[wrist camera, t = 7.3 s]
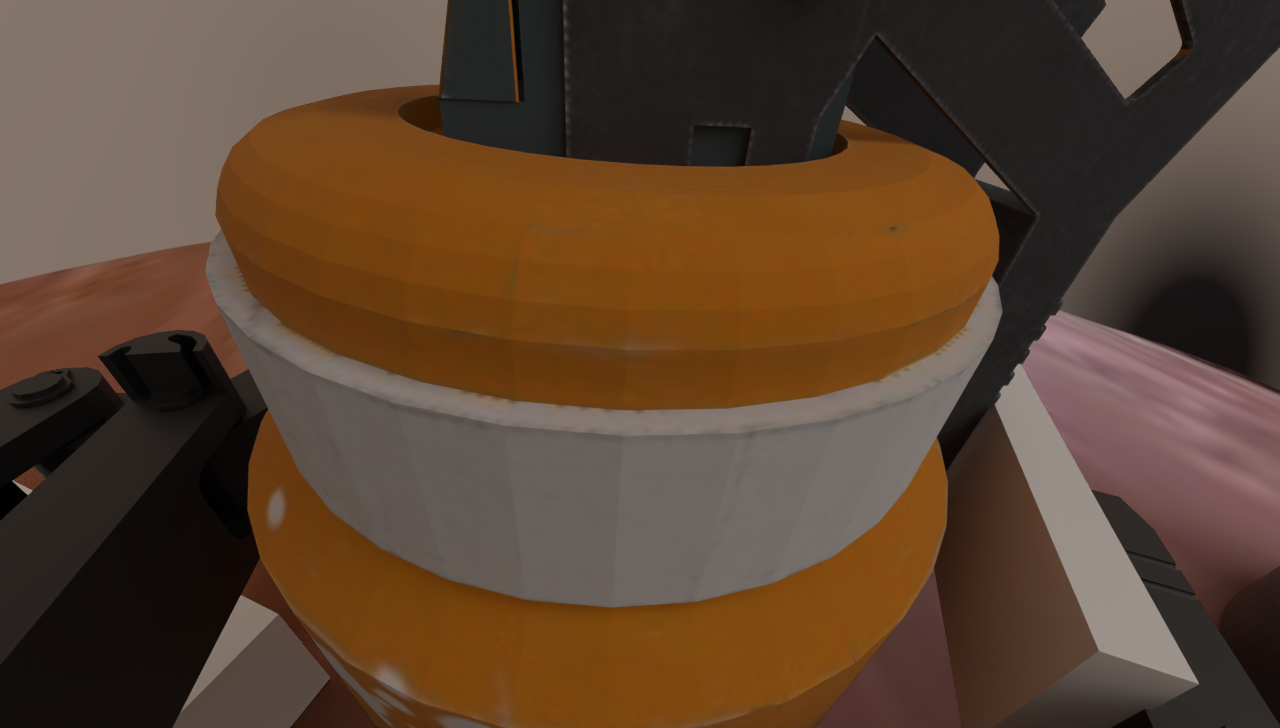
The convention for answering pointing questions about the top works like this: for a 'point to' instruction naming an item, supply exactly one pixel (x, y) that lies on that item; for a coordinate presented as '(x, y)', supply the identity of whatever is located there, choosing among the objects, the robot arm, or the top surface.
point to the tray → (252, 674)
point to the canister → (665, 333)
